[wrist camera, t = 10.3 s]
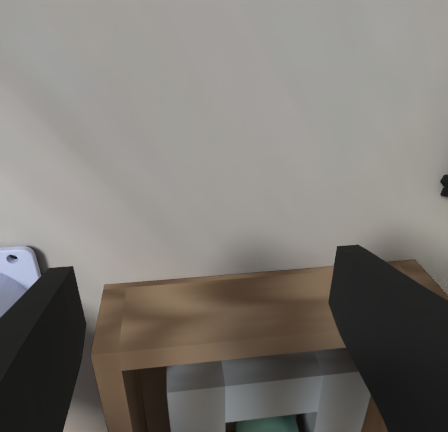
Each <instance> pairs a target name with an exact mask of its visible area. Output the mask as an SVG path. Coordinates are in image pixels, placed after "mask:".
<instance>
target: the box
mask: <svg viewBox="0 0 448 432" xmlns="http://www.w3.org/2000/svg"><path fill="white" fill-rule="evenodd" d="M387 263H388V264H390V265H391V266H393V267H394V268H396V269H397V270H399V271H400V272H402V273H404V274H405V275H407V276H408V277H410V278H411V279H413V280H415V281H416V282H418V283H419V284H421V285H423V286H424V287H426V288H427V289H429V290H431V291H432V292H434V293H436V294H437V295H439V296H441V297H443V298H445V299H446V300H448V295H447V294H446V293H445V292H444V291H443V290H442V289H441V288H440V286H439V285H438V284H437V283H436V282H435V281H434V280H433V279H432V278H431V277H430V275H429V274H428V273H427V272H426V271H425V270H424V269H423V268H422V267H421V266H420V265H419V263H418V262H417V261H416V260H406V261H394V262H387ZM333 269H334V266H332V267H320V268H307V269H295V270H283V271H270V272H258V273H245V274H233V275H221V276H208V277H196V278H183V279H171V280H159V281H146V282H134V283H122V284H109V285H104V289H103V294H102V299H101V304H100V310H99V315H98V320H97V325H96V330H95V335H94V340H93V345H92V350H91V359H92V364H93V368H94V372H95V377H96V381H97V385H98V390H99V394H100V398H101V403H102V407H103V411H104V416H105V420H106V425H107V429H108V432H236V431H235V425H234V422H235V421H243V420H252V419H260V418H268V417H276V416H285V415H293V414H294V416H295V419H296V423H297V426H298V430H299V432H388V430H387V428H386V425H385V423H384V420H383V418H382V416H381V414H380V412H379V410H378V408H377V406H376V404H375V402H374V400H373V398H372V396H371V394H370V392H369V390H368V388H367V386H366V385H365V383H364V381H363V379H362V377H361V375H360V373H359V371H358V369H357V367H356V365H355V364H354V362H353V360H352V358H351V356H350V354H349V352H348V350H347V348H346V346H345V344H344V342H343V340H342V338H341V336H340V334H339V332H338V329H337V326H336V324H335V321H334V318H333V315H332V312H331V309H330V306H329V303H328V301H329V294H330V288H331V282H332V276H333Z"/></svg>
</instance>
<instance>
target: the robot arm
mask: <svg viewBox="0 0 448 432" xmlns="http://www.w3.org/2000/svg"><path fill="white" fill-rule="evenodd" d="M9 255H14V256H16V257H17V258H18V259H13V258H11V257H10V256H9ZM328 303H329V306H330V309H331V312H332V315H333V318H334V321H335V324H336V326H337V329H338V332H339V334H340V336H341V338H342V340H343V342H344V344H345V346H346V348H347V350H348V352H349V354H350V356H351V358H352V360H353V362H354V364H355V365H356V367H357V369H358V371H359V373H360V375H361V377H362V379H363V381H364V383H365V385H366V386H367V388H368V390H369V392H370V394H371V396H372V398H373V400H374V402H375V404H376V406H377V408H378V410H379V412H380V414H381V416H382V418H383V420H384V423H385V425H386V428H387V430H388V432H448V300H446V299H445V298H443V297H441V296H439V295H437V294H436V293H434V292H432V291H431V290H429V289H427V288H426V287H424V286H423V285H421V284H419V283H418V282H416V281H415V280H413V279H411V278H410V277H408V276H407V275H405V274H404V273H402V272H400V271H399V270H397V269H396V268H394V267H393V266H391V265H390V264H388V263H387V262H385V261H384V260H382V259H380V258H379V257H377V256H376V255H374V254H373V253H371V252H369V251H368V250H366V249H364V248H363V247H361V246H359V245H349V246H337V251H336V257H335V263H334V269H333V276H332V282H331V288H330V294H329V301H328ZM85 329H86V322H85V317H84V313H83V309H82V304H81V300H80V295H79V291H78V286H77V282H76V277H75V273H74V269H73V266H70V267H57V268H49V269H48V270H47V271H46V272H44V274H43V275H42V276H41V273H40V269H39V265H38V262H37V258H36V255H35V252H34V251H33V250H32V249H31V248H29V247H27V246H17V247H2V248H0V432H63V429H64V425H65V421H66V417H67V414H68V410H69V406H70V402H71V399H72V395H73V391H74V387H75V384H76V380H77V376H78V372H79V368H80V364H81V360H82V353H83V346H84V338H85Z"/></svg>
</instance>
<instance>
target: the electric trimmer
mask: <svg viewBox="0 0 448 432" xmlns="http://www.w3.org/2000/svg"><path fill="white" fill-rule="evenodd" d="M441 183H442V184H443V185H444V186H445V187H447V188H443V190H442V193H441V195H442V196H447V197H448V175H444V176H443V178H442V179H441Z"/></svg>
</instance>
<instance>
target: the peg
mask: <svg viewBox="0 0 448 432" xmlns="http://www.w3.org/2000/svg"><path fill="white" fill-rule="evenodd" d="M234 425H235V431H236V432H299V430H298V426H297V423H296V419H295V416H294V414H293V415H285V416H276V417H268V418H260V419H252V420H243V421H235V422H234Z"/></svg>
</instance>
